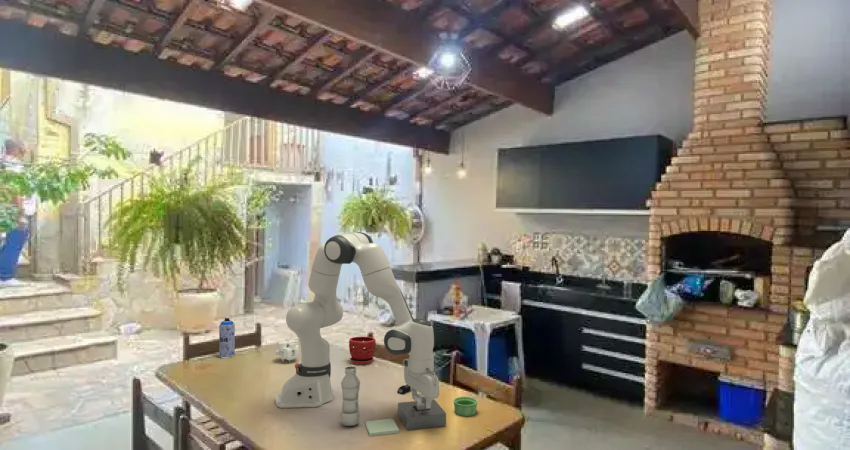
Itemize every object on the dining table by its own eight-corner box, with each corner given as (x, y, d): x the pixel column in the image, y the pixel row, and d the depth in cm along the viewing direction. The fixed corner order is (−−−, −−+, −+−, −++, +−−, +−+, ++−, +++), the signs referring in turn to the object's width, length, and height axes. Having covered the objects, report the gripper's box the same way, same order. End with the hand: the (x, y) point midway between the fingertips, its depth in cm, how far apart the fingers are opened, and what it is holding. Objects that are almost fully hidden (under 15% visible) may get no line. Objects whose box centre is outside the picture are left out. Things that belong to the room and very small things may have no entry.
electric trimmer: (427, 386, 217) (427, 379, 217) (403, 395, 206) (403, 387, 206) (420, 384, 220) (420, 377, 220) (396, 393, 208) (396, 385, 208)
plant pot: (373, 366, 245) (373, 341, 245) (347, 366, 245) (347, 341, 245) (376, 358, 258) (376, 335, 258) (351, 358, 258) (351, 335, 258)
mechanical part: (291, 356, 261) (292, 333, 261) (303, 361, 252) (303, 338, 252) (271, 360, 254) (271, 337, 253) (282, 365, 245) (282, 341, 244)
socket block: (407, 430, 171) (407, 417, 171) (397, 415, 185) (397, 402, 185) (446, 426, 175) (446, 413, 175) (434, 411, 189) (434, 399, 189)
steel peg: (417, 423, 177) (417, 398, 177) (414, 418, 181) (414, 394, 181) (428, 422, 179) (428, 396, 178) (425, 417, 182) (425, 393, 182)
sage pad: (369, 436, 167) (369, 433, 167) (364, 424, 176) (364, 421, 176) (399, 432, 170) (399, 429, 169) (392, 421, 179) (392, 418, 179)
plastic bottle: (341, 421, 179) (341, 365, 178) (360, 420, 179) (360, 365, 179) (339, 429, 172) (339, 371, 172) (359, 428, 173) (359, 370, 173)
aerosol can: (215, 358, 258) (215, 319, 257) (224, 354, 265) (224, 316, 265) (229, 358, 256) (229, 319, 256) (238, 354, 264) (238, 316, 264)
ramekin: (470, 419, 182) (470, 407, 182) (449, 413, 186) (449, 402, 186) (481, 411, 189) (481, 399, 189) (460, 406, 194) (460, 394, 194)
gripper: (444, 371, 172) (443, 411, 172) (416, 356, 190) (416, 393, 190) (427, 374, 169) (427, 415, 169) (401, 359, 187) (401, 396, 187)
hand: (421, 403), depth 180 cm, fingers open, 8 cm apart
